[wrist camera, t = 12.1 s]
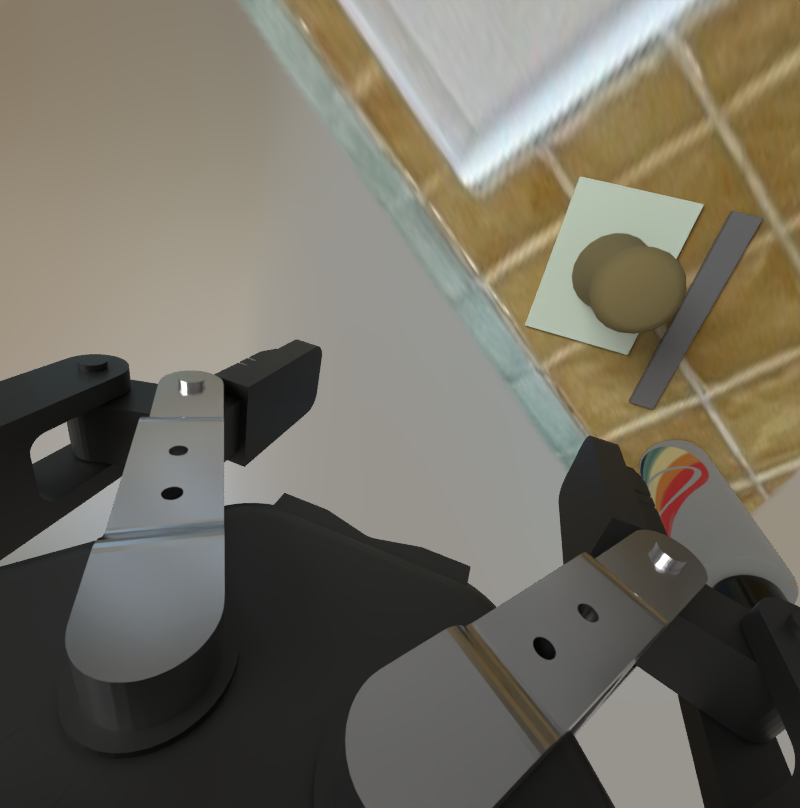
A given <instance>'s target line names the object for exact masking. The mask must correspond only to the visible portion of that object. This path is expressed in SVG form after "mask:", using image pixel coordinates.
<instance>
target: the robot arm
mask: <svg viewBox="0 0 800 808" xmlns="http://www.w3.org/2000/svg"><path fill="white" fill-rule="evenodd" d="M321 358H322V350H321V348H320V347H318V346H316V345H312V344H309V343H306V342H303V341H300V340H294V341H292V342H291V343H288V344H286V345H284V346H283V347H281V348H279V349H273V350H267V351H262V352H259V353H257V354H255V355H253V356H251V357H249V359H248V358H247V359H245V360H243V361H241V362H240V364H239V363H237V364H235V365H233V366H231V367H229V368H227V369H225V370H223V371H221V372H219V373H216V374H214V375H213V374H210V373H206V372H202V371H179V372H174V373H171V374H168V375H166V376H164V377H162V378H161V379H160V381H159V383H158V384H155V383H148V382H142V381H136V380H130V372H129V364H128V363H127V362H126V361H125V360H123V359H121V358H118V357H115V356H110V355H101V354H99V355H98V354H90V355H81V356H75V357H71V358H67V359H64V360H61V361H58V362H56V363H53V364H50V365H47V366H44V367H41V368H38V369H35V370H32V371H29V372H26V373H23V374H20V375H17V376H14V377H11V378H9V379H6V380H3V381H0V560H2V559H3V558H4V557H6V556H7V555H9V554H10V553H12V552H13V551H15V550H16V549H17V548H19V547H20V546H22V545H23V544H25V543H26V542H28V541H29V540H30V539H32V538H33V537H34V536H36V535H38V534H39V533H40V532H42V531H43V530H45V529H46V528H48V527H49V526H51V525H52V524H53V523H55V522H56V521H58V520H59V519H61V518H62V517H64V516H65V515H67V514H68V513H69V512H71V511H72V510H74V509H75V508H77V507H78V506H80V505H81V504H82V503H84V502H85V501H86V500H88V499H90V498H91V497H92V496H94V495H95V494H97V493H98V492H100V491H101V490H103V489H104V488H105V487H107V486H108V485H110V484H111V483H113V482H114V481H116V480H117V479H118V478H120V477H121V476H122V478H121V481H120V485H119V488H118V491H117V495H116V498H115V501H114V504H113V508H112V511H111V515H110V518H109V521H108V524H107V528H106V531H105V533H104V535H103V536H102V537H101V538H98V539H97V540H96V541H92V542H89V543H85V544H82V545H78V546H74V547H71V548H67V549H64V550H60V551H56V552H52V553H49V554H45V555H41V556H38V557H34V558H31V559H27V560H23V561H20V562H16V563H13V564H9V565H5V566H1V567H0V808H615V806H614V805H613V803H612V801H611V799H610V798H609V796H608V794H607V793H606V791H605V789H604V787H603V785H602V784H601V782H600V780H599V778H598V777H597V775H596V773H595V771H594V770H593V768H592V766H591V764H590V762H589V761H588V759H587V757H586V755H585V754H584V752H583V750H582V749H581V747H580V745H579V743H578V741H577V740H576V738H575V735H576V734H577V733H578V732H579V731H580V730H581V728H582V727H583V726H584V725H585V724H586V722H587V721H588V720H589V719H590V718H591V717H592V716H593V715H594V714H595V712H596V711H597V710H598V709H599V708H600V707H601V706H602V705H603V704H604V702H605V701H606V700H607V699H608V698H609V697H610V696H611V695H612V694H613V693H614V691H615V690H616V689H617V688H618V687H619V686H620V685H621V684H622V682H623V681H624V680H625V679H626V678H627V677H628V676H629V675H630V674H631V673H632V672H633V670H634V669H635V668H636V667H637V666H638V667H640V668H641V669H642V670H644V671H645V672H647V673H648V674H650V675H651V676H653V677H654V678H656V679H657V680H658V681H660V682H661V683H663V684H664V685H666V686H667V687H668V688H670V689H672V690H673V691H674V692H676V693H677V694H678V698H679V702H680V707H681V711H682V715H683V719H684V723H685V728H686V732H687V736H688V740H689V744H690V748H691V753H692V756H693V761H694V765H695V770H696V774H697V778H698V781H699V786H700V790H701V795H702V798H703V803H704V807H705V808H800V607H798V606H796V605H794V604H792V603H790V602H788V601H785V600H782V599H778V598H774V597H765V598H763V599H761V600H760V601H759V602H758V603H757V604H756V605H755V606H754V607H753V608H752V609H751V610H750V609H748V608H746V607H745V606H743V605H741V604H739V603H738V602H736V601H734V600H732V599H730V598H729V597H727V596H725V595H723V594H722V593H720V592H718V591H716V590H715V589H713V588H711V587H710V586H708V585H707V584H706V583H707V581H708V575H707V572H706V569H705V567H704V566H703V564H702V563H701V562H700V560H699V559H698V558H697V557H696V556H695V555H694V554H693V553H692V552H691V551H690V550H688V549H687V548H686V547H685V546H683V545H682V544H680V543H679V542H677V541H676V540H674V539H672V538H670V537H668V535H667V533H666V530H665V528H664V526H663V523H662V521H661V518H660V516H659V513H658V511H657V509H656V508H655V504H654V501H653V499H652V497H650V496H651V494H650V491H649V489H648V487H647V484H646V482H645V481H644V480H643V479H642V478H641V477H640V475H639V474H638V473H637V472H636V471H635V470H634V469H633V468H630V467H627V466H626V464H625V461H624V459H623V456H622V453H621V450H620V447H619V445H617V444H614V443H611V442H608V441H605V440H602V439H599V438H596V437H593V436H588V437H587V438H586V439H585V441H584V442H583V444H582V446H581V448H580V450H579V452H578V454H577V456H576V458H575V460H574V462H573V464H572V466H571V468H570V470H569V472H568V473H567V475H566V477H565V479H564V482H563V484H562V487H561V490H560V495H559V512H560V525H561V537H562V550H563V564H564V565H563V566H561V567H559V568H558V569H556V570H555V571H553V572H552V573H550V574H548V575H547V576H545V577H544V578H542V579H541V580H539V581H538V582H536V583H534V584H533V585H531V586H530V587H528V588H526V589H525V590H524V591H522V592H520V593H519V594H517V595H515V596H514V597H512V598H511V599H509V600H508V601H506V602H505V603H503V604H501V605H500V606H498V607H496V606H495V605H494V604H493V603H492V602H491V601H490V600H489V599H488V598H487V597H486V596H484V595H483V594H482V593H481V592H480V591H478V590H477V589H476V588H475V587H473V586H472V585H470V584H469V583H467V582H468V577H469V571H470V566H468V565H465V564H462V563H460V562H458V561H455V560H452V559H450V558H447V557H445V556H443V555H440V554H437V553H435V552H432V551H430V550H427V549H424V548H422V547H417V546H412V545H406V544H401V543H396V542H390V541H385V540H379V539H374V538H371V537H368V536H366V535H364V534H363V533H361V532H360V531H358V530H357V529H355V528H354V527H352V526H351V525H349V524H348V523H346V522H345V521H343V520H342V519H340V518H339V517H337V516H336V515H334V514H333V513H331V512H330V511H328V510H326V509H324V508H321V507H319V506H316V505H314V504H311V503H309V502H306V501H303V500H301V499H299V498H296V497H294V496H291V495H289V494H286V493H284V494H283V495H282V496H281V498H280V499H279V500H278V501H277V502H276V503H275V504H274V505H270V504H259V503H242V504H233V505H226V506H224V462H225V461H226V460H229V461H231V462H234V463H236V464H239V465H241V466H244V467H245V466H246V465H247V464H248V463H249V462H251V461H252V460H253V459H254V458H255V457H256V456H257V455H258V454H260V453H261V452H262V451H263V450H264V449H266V448H267V447H268V446H269V445H270V444H271V443H273V442H274V441H275V440H276V439H277V438H278V437H280V436H281V435H282V434H283V433H284V432H285V431H286V430H288V429H289V428H290V427H291V426H292V425H294V424H295V423H296V422H297V421H298V420H299V419H300V418H302V417H303V416H304V415H305V414H306V413H307V412H308V411H309V410H310V409H311V407H312V406H313V404H314V401H315V398H316V394H317V388H318V380H319V373H320V365H321ZM65 422H67V425H68V431H69V436H70V441H71V444H69V445H67V446H65V447H63V448H62V449H60V450H58V451H56V452H54V453H52V454H50V455H49V456H47V457H45V458H43V459H41V460H39V461H37V462H36V463H34V464H32V462H31V458H30V449H31V446H32V444H33V443H34V441H35V440H36V439H37V438H38V437H39V436H40V435H41V434H43V433H44V432H46V431H48V430H50V429H52V428H55V427H57V426H59V425H61V424H63V423H65ZM784 729H786V731H787V733H788V735H789V738H790V740H791V743H792V745H793V749H794V753H795V769H794V773H793V775H792V776H791V773H790V771H789V768H788V766H787V763H786V761H785V758H784V756H783V754H782V751H781V749H780V746H779V744H778V742H777V739H776V736H777V735H778V734H780V733H781V732H782V731H783V730H784Z"/></svg>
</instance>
